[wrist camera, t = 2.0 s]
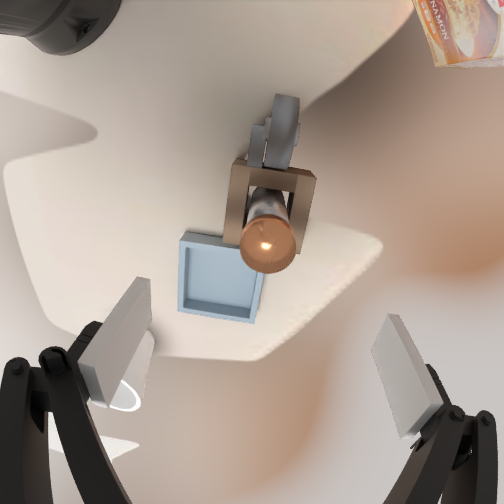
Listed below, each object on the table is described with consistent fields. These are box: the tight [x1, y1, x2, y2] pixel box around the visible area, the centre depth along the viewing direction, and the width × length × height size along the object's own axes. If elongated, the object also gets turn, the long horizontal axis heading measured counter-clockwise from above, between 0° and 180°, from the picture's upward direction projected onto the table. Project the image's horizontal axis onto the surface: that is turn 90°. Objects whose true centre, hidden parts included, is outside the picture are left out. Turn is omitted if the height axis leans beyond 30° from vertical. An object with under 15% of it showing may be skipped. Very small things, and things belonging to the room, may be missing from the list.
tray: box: [178, 232, 264, 324], centre depth 40 cm, size 11×11×3 cm
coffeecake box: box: [412, 0, 504, 69], centre depth 15 cm, size 15×7×20 cm, turn 15°
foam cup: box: [110, 329, 155, 411], centre depth 42 cm, size 10×9×13 cm
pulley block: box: [222, 94, 317, 254], centre depth 32 cm, size 17×9×8 cm, turn 171°
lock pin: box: [240, 187, 296, 274], centre depth 30 cm, size 4×4×15 cm
